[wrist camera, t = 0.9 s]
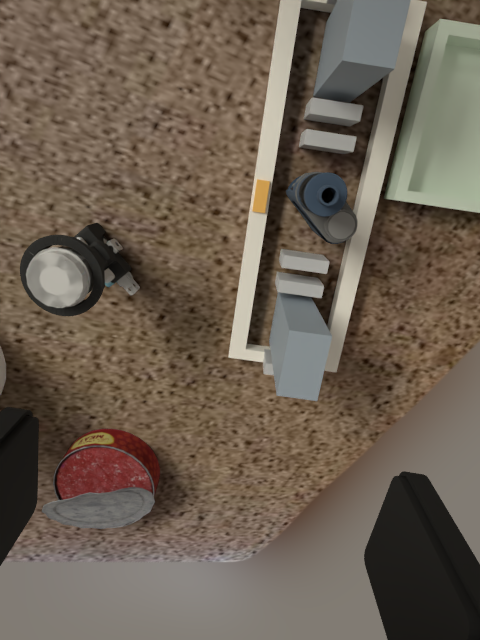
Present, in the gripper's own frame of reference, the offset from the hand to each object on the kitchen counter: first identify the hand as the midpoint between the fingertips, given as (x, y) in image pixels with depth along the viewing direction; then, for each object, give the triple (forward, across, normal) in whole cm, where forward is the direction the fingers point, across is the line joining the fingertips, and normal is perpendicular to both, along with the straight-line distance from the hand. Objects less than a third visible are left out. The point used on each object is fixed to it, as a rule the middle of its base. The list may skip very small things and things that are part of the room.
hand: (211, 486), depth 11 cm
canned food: (+26, +9, +23) cm, 36 cm away
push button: (+26, +11, +1) cm, 28 cm away
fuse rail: (+26, -5, -6) cm, 27 cm away
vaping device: (+26, -5, -6) cm, 28 cm away
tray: (+26, -15, -14) cm, 33 cm away
